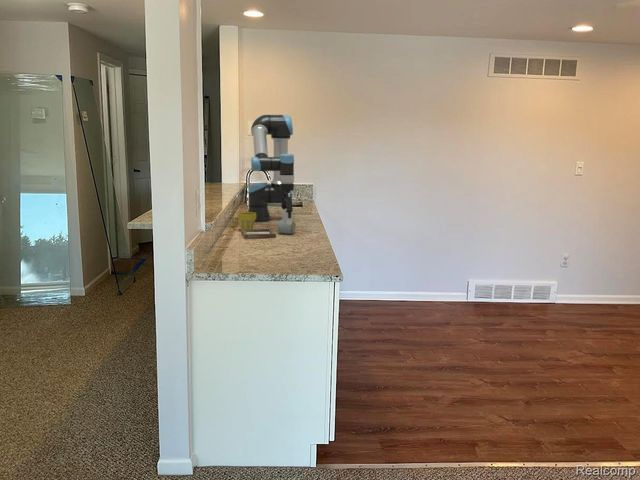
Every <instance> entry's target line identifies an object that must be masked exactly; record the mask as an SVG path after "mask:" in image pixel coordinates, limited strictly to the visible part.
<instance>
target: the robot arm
mask: <svg viewBox="0 0 640 480" xmlns="http://www.w3.org/2000/svg"><path fill="white" fill-rule="evenodd" d="M292 121H293V120H292V117H291V116H290V115H287V114H263V115H260V116H259V117H257V118H256V119H255V120H254V121H253V122H252V125H251V129H250V133H251V135H252V137H253V138H252V139H253V152H254V153H253V155H254V156H253V157H251V160H250V161H251V165H250V166H251V170H252V171H255V172H273V179H272V180H271V181H270V184H268V182H266V181H265V182H263V181H262V182H256V183H251V184H250V185H248V210H247V212H253V213H256V220H255V223H257V222H259V223H261V222H269V221H271V214H270V210H269V208H268V207H269V205H268V204H280V205H281V206H280V207H281V219H282V220H287V225H288V224H292V221H293V211H294V209H293V200H292V199H293V198H292V197H293V195H292V194H293V191H294V190H295V184H294V182H295V174H294V172H295V170H294V169H295V157H294V154H292V153H289V152H288V151H289V149H288V148H289V146H288V145H289V140H290V139H291V136H293V135H294V129H293V122H292ZM267 135H270V138H271V139H272V140H273V156H270V157H269V154H268V153H269V152H268V141H267Z"/></svg>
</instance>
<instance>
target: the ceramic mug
mask: <svg viewBox="0 0 640 480" xmlns="http://www.w3.org/2000/svg"><path fill="white" fill-rule="evenodd" d="M277 226H278V227H277V231H278V234H281V235H282V234H283V235H294V234H295V232H296V229H297V227H296V222H295V221H294V220H292V224H288V225H287V220H282V218H281V219H279V220H278V225H277Z"/></svg>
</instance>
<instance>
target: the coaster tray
mask: <svg viewBox="0 0 640 480" xmlns="http://www.w3.org/2000/svg"><path fill="white" fill-rule="evenodd" d="M241 235H242V236H243V239H244V240H257V239H258V240H259V239H260V240H262V239H263V240H264V239H276V238H277V234H276V232H275V231H274V230H273V229H272V228H257V229H256V228H253V229H245V230H242V231H241Z"/></svg>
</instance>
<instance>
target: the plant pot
mask: <svg viewBox="0 0 640 480" xmlns="http://www.w3.org/2000/svg"><path fill="white" fill-rule="evenodd" d="M237 220H238V222H239V228H240V231H241V232H242V230H245V229H255V228H254V227H255V223H256V222H255V220H256V213H253V212H248V211H243V212H238V213H237Z"/></svg>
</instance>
